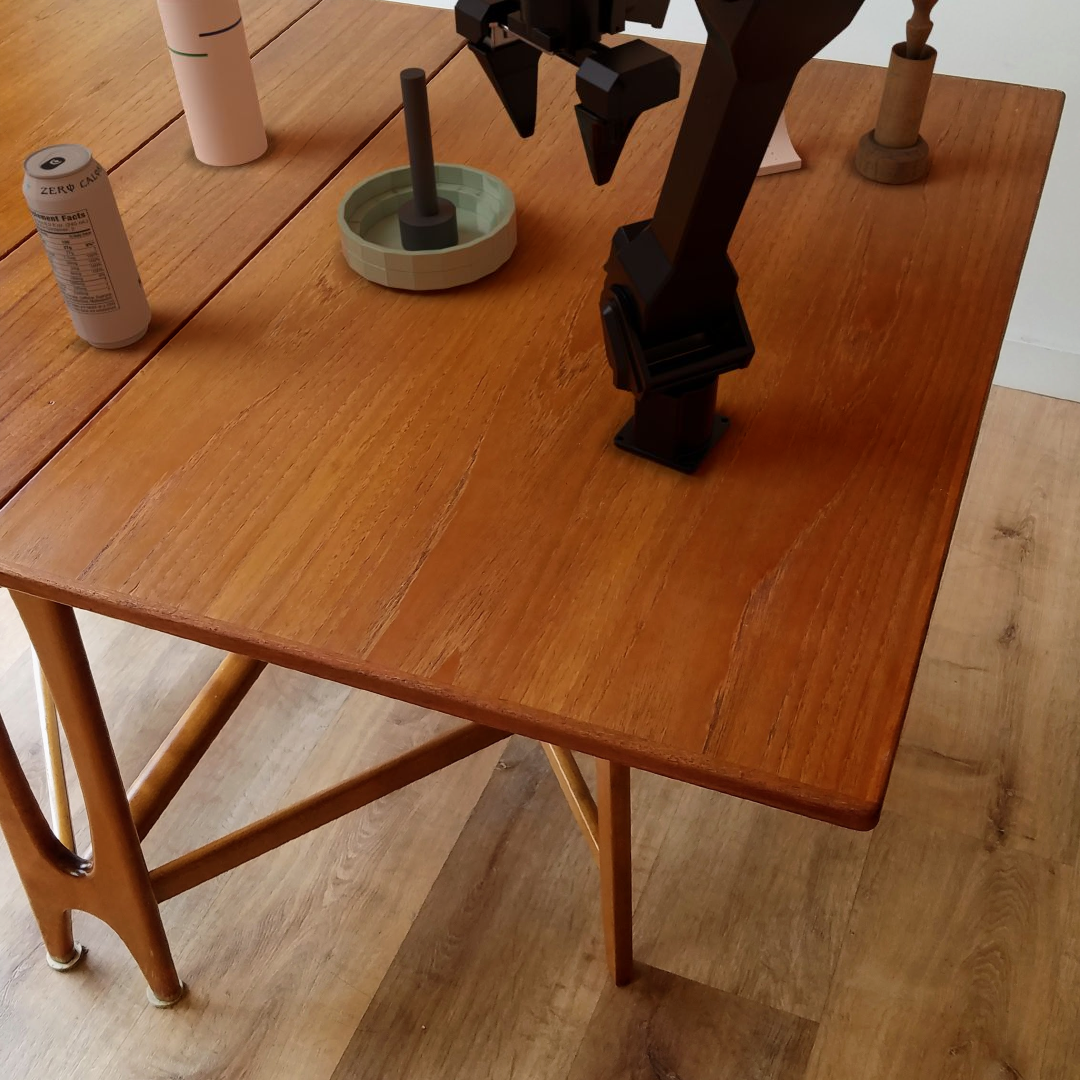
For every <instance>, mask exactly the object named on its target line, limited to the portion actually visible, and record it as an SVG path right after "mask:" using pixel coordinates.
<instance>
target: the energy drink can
mask: <svg viewBox="0 0 1080 1080" xmlns="http://www.w3.org/2000/svg"><path fill="white" fill-rule="evenodd" d="M22 168H23V171H24V177H23V180H22V186H21V190H22V193H23V195H24V198H25V202H26V204H27V207H28V209H29V212H30V214H31V216H32V217H31V218H32V219H33V222H34V225H35V227H36V230H37V232H38V235H39V238H40V241H41V243H42V246H43V249H44V251H45V253H46V257H47V259H48V262H49V265H50V267H51V269H52V272H53V275H54V277H55V280H56V283H57V285H58V288H59V290H60V293H61V295H62V298H63V301H64V303H65V306H66V309H67V312H68V315H69V316H70V319H71V322H72V324H73V327H74V330H75V332H76V335H78V337H80V338H81V339H83V340H84V341H87V343H88V344H89V345H91V346H93V347H95V348H98V349H104V350H114V349H120V348H123V347H127V346H129V345H132V344H134V343H136V342H138V341H140V339H141V338H143V337H144V336H145V335H146V333H147V331H148V329H149V324H150V323H151V320H152V310H151V307H150V304H149V301H148V298H147V294H146V292H145V289H144V288H145V287H144V285H143V282H142V279H141V276H140V273H139V270H138V267H137V264H136V260H135V257H134V254H133V251H132V248H131V245H130V244H131V243H130V241H129V238H128V236H127V232H126V229H125V226H124V223H123V219H122V217H121V213H120V210H119V207H118V204H117V201H116V198H115V194H114V191H113V189H112V185H111V181H110V179H109V176H108V173H107V169H105V168H104V166H102V165H101V164H100V163H99V162H98V161H97V160H96V159H95V158H94V157H93V153H92V151H91V149H90V148H89V147H87V146H85V145H82V144H79V143H69V142H68V143H67V142H66V143H55V144H51V145H47V146H45V147H41V148H39V149H37V150H34V151H32V152H31V153H30V154H29V155H27V156H26V157H25V158H24V160H23V161H22Z"/></svg>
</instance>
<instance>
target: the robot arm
mask: <svg viewBox="0 0 1080 1080" xmlns="http://www.w3.org/2000/svg"><path fill="white" fill-rule="evenodd" d="M865 2H866V0H694V4H695V6H696V8H697V11H698V13H699V15H700V18H701V21H702V23H703V26H704V28H705V31H706V33H707V36H706V41H705V45H704V48H703V53H702V56H701V59H700V63H699V65H698V69H697V72H696V75H695V78H694V82H693V85H692V88H691V91H690V95H689V98H688V102H687V104H686V108H685V112H684V113H683V114H684V115H683V118H682V121H681V125H680V128H679V130H678V135H677V138H676V141H675V144H674V147H673V150H672V153H671V157H670V161H669V164H668V167H667V171H666V174H665V176H664V180H663V183H662V187H661V190H660V193H659V196H658V199H657V203H656V207H655V210H654V213H653V215H652V217H651V218H650V217H649V218H647V219H643V220H639V221H636V222H632V223H631V222H630V223H628V224H624V225H620V226H618V227H617V229H616V231H615V232H614V234H612V235H613V236H612V237H611V243H610V244H611V245H610V251H609V255H608V258H607V261H606V262H605V263H604V264H603V265H602V268H603V269H602V270H603V271H604V272H605V273H607V274H606V276H605V279H604V281H603V287H602V288H603V289H602V290H601V292H600V296H599V297H600V298H599V301H598V308H599V314H600V321H601V322H600V323H601V328H602V335H603V341H604V347H605V348H604V349H605V355H606V358H607V362H608V366H609V367H610V369H612V385H613V386H614V387H615V389H616V390H620V391H621V390H622V391H625V392H627V393H629V392H630V393H631V394H632V395H633V397H634V404H633V414H632V415H631V417H630V418H629V419H628V420H627V422H626V423H625V424H624V425H622V427H621V428H620V430H618V432H617V433H616V434H615V435H614V436H613V445H614V446H615V447H617V448H619V449H622V450H624V451H626V452H630V453H632V454H634V455H638V456H641V457H642V458H646V459H647V460H648V459H649V460H651V461H653V462H656V463H658V464H661V465H664V466H666V467H669V468H672V469H675V470H677V471H680V472H682V473H685V474H689V475H693V474H695V473H696V472H697V471H698V470H699V469H700V468H701V466H702V465H703V464H704V463H705V461H706V459H707V458H708V457H709V456H710V454H711V453H712V452H713V451H714V449H715V448H716V447H717V445H718V444H719V442H720V441H721V440H722V439H723V437H724V436H725V435H726V434H727V432H728V431H729V429H730V428H731V426H732V419H731V418H730V417H729V416H726V415H724V414H721V413H718V412H716V408H717V400H718V399H717V398H718V389H719V382H720V381H719V379H720V376H721V375H724V374H727V373H730V372H733V371H737V370H745V369H747V368H749V366H750V365H751V362H752V360H753V358H754V356H755V354H756V347H755V343H754V341H753V337H752V334H751V332H750V328H749V325H748V322H747V319H746V315H745V312H744V309H743V306H742V303H741V300H740V297H739V294H738V291H737V290H738V286H739V282H740V276H739V274H738V272H737V270H736V268H735V266H734V264H733V262H732V259H731V257H730V256H729V253H728V249H729V245H730V242H731V240H732V238H733V236H734V232H735V230H736V227H737V225H738V222H739V220H740V217H741V215H742V213H743V211H744V208H745V205H746V203H747V200H748V198H749V195H750V192H751V191H752V188H753V185H754V183H755V180H756V179H757V177H758V176H757V173H758V171H759V168H760V166H761V163H762V161H763V158H764V156H765V153H766V151H767V148H768V146H769V143H770V141H771V138H772V136H773V133H774V131H775V128H776V126H777V124H778V121H779V119H780V116H781V114H782V111H783V109H784V110H785V106H786V104H787V101H788V99H789V96H790V93H791V92H792V90H793V89H792V88H793V86H794V84H795V81H796V79H797V77H798V75H799V73H800V72H801V70H802V68H804V66H805V65H806V64H807V63H808V62H810V61H811V60H812V59H813V58H815V56H816V55H818V54H819V53H820V52H821V51H822V50H823V49H824V48H825V47H826V46H828V45H829V44H830V43H831V42H832V41H833V40H835V39H836V38H837V37H838V36H839V35H840V34H841V33H843V32H844V31H845V30H846V29H847V28H848V27H849V26H850V25H851V24H852V22H853V20H854V19H855V18H856V16H857V14H858V13H859V11H860V9H861V8H862V6H863V5H864V3H865ZM670 3H671V0H457V1H456V3H455V5H454V6H453V7H454V8H453V10H454V22H455V33H456V34H458V35H460V36H461V37H463V38H465V39H466V40H467V41H466V46H467V49H468V50H469V51H470V52H472V54H473V55H474V57H475V58H476V60H477V61H478V63H479V66H480V67H481V68H482V70H483V73H485V75H486V77H487V79H488V80H489V82H490V83H491V85H492V88H493V89H494V91H495V93H496V94H497V97H498V98H499V100H500V102H501V103H502V105H503V107H504V110H505V111H506V113H507V115H508V118H509V119H510V120H511V122H512V124H513V126H514V128H515V130H516V132H517V133H518V136H519V138H522V139H524V140H525V139H527V138H530V137H532V136H534V134H535V130H536V123H537V112H538V111H537V108H538V87H539V86H538V85H539V63H540V59H541V57H542V55H543V53H544V54H546V55H548V56H550V57H551V56H552V57H553V56H556V57H557V58H560V59H562V60H563V61H565V62H567V63H569V64H570V65H572V66H574V67H576V68H577V71H576V73H575V74H574V75H575V77H574V78H575V82H574V83H575V92H576V95H577V96H578V98H579V100H580V102H579V103H577V104H574V105H573V110H574V112H575V118H576V121H577V125H578V129H579V132H580V136H581V140H582V144H583V148H584V151H585V156H586V160H587V163H588V168H589V170H590V171H589V172H590V173H591V177H592V180H593V182H594V184H595V186H597V187H601V186H604V185H606V184H608V183H610V181H611V179H612V177H613V174H614V172H615V169H616V167H617V164H618V162H619V159H620V158H621V155H622V152H623V150H624V148H625V145H626V142H627V140H628V139H629V136H630V133H631V131H632V130H633V128H634V126H635V124H636V122H637V120H639V117H640V116H641V115H642V114H643V113H644V112H647V111H650V110H652V109H655V108H657V107H659V106H661V105H663V104H666V103H669V102H671V101H674V100H677V99H679V98H680V94H681V80H682V79H681V77H682V64H681V63H680V62H679V61H678V60H677V59H676V58H675V57H674V55H673V54H670V53H668V52H667V51H665V50H663V49H661V48H658V47H657V46H656V45H652V44H651V43H649V42H647V41H645V40H643V39H641V38H636V39H633V40H629V41H627V42H624V43H621V44H618V45H615V46H613V47H610V46H608V45H606V44H604V43H602V42H601V41H602V38H603V37H602V36H604V35H607V34H608V35H610V36H614V35H618V34H620V33H623V32H625V31H626V22H629V23H630V22H631V23H638V24H644V25H650V27H651V28H653V29H656V30H657V29H658V30H661V29H663V28H664V23H665V20H666V17H667V14H668V10H669V7H670Z"/></svg>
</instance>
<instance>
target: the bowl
mask: <svg viewBox="0 0 1080 1080" xmlns="http://www.w3.org/2000/svg"><path fill="white" fill-rule="evenodd" d="M434 168H435V178H436V189H437V197H442V198H445V199H448V200H450V201H451V202H452V203H453V204H454V205H455V207H456V215H457V227H458V239H459V240H458V244H457V245H456V246H454V247H449V248H445V249H441V250H426V251H406V250H405V249H404V248H403V246H402V243H401V235H400V227H399V219H398V210H399V208H400V207H401V205H403V204H404V203H405V202H407V201H409V200H411V199H414V196H413V187H412V178H411V169H410V164H406V165H402V166H398V167H393V168H388V169H385V170H382V171H380V172H377V173H375V174H373V175H370V176H368V177H366V178H364V179H362V180H361V181H359V182H358V183H357V184H355V185H354V186H352V187H351V188H349V189H348V190H347V191H346V193H345V194H344V196H343V197H342V199H340V201H339V203H338V205H337V215H336V221H337V228H338V234H339V239H340V244H341V246H340V247H341V251H342V252H341V253H342V255H343V257H344V258H345V260H346V262H347V264H348V266H349V268H351V269H352V270H353V271H354V272H356V273H357V274H359V275H360V276H361V277H362V278H363V279H365V280H367V281H370V282H373V283H376V284H378V285H382V286H385V287H388V288H395V289H401V290H402V289H403V290H411V291H428V290H429V291H431V290H445V289H449V288H454V287H458V286H461V285H467V284H470V283H472V282H473V283H474V282H476V281H478V280H479V279H481V278H484V277H486V276H488V275H490V274H492V273H494V272H496V271H497V270H498V269H499V268H500V267H501V266H502V265H503V264H505V263H506V262H507V261H508V260H509V259H510V258H511V257H512V254H513V253H514V251H515V249H516V246H517V244H518V230H517V211H516V210H517V209H516V208H517V207H516V198H515V193H514V192H513V190H511V188H510V186H508V185H507V183H506V182H505V181H504V180H503V179H501V178H499V177H497V176H496V175H494V174H493V173H491V172H489V171H487V170H483V169H480V168H476V167H473V166H469V165H467V164H459V163H448V162H434Z"/></svg>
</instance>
